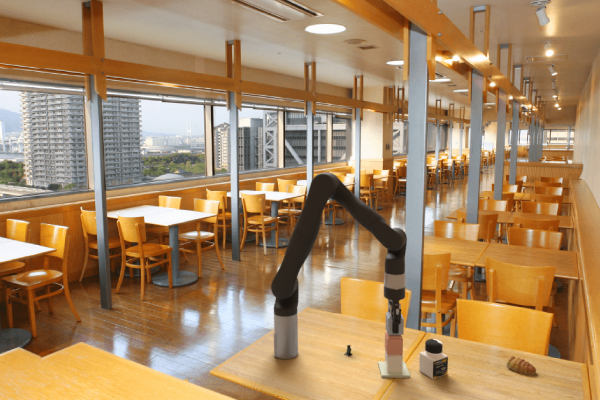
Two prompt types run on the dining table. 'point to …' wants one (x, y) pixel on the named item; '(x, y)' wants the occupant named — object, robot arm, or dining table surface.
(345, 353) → the sculpture
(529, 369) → the pastry
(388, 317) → the grey block
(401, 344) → the brick terracotta
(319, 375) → the dining table surface
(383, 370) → the tower base
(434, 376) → the medicine bottle
